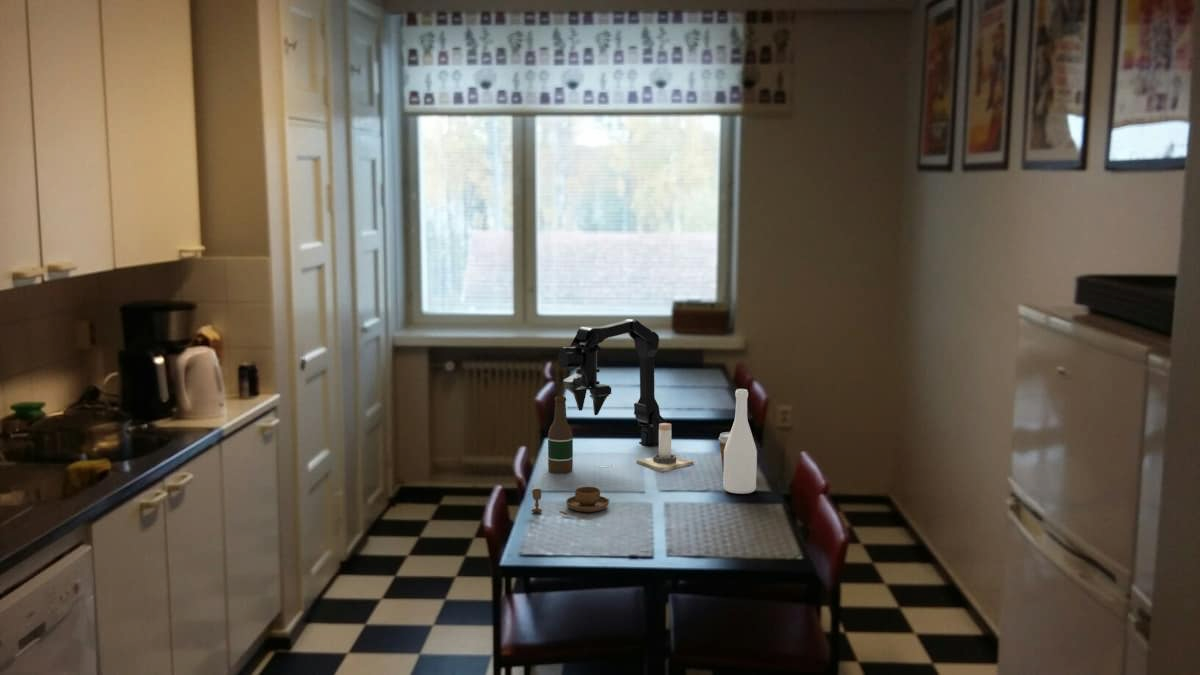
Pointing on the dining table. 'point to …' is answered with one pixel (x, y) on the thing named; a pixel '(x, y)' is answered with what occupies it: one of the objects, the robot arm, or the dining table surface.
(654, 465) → the eye plate
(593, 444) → the dining table surface
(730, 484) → the wine bottle
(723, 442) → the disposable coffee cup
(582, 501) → the place setting
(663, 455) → the peg
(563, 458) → the beer bottle
